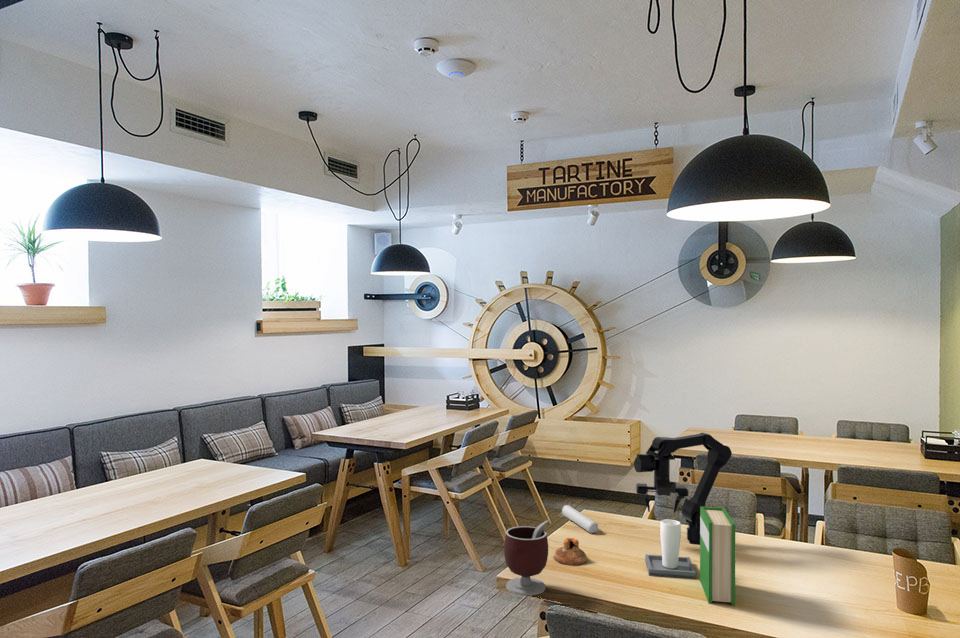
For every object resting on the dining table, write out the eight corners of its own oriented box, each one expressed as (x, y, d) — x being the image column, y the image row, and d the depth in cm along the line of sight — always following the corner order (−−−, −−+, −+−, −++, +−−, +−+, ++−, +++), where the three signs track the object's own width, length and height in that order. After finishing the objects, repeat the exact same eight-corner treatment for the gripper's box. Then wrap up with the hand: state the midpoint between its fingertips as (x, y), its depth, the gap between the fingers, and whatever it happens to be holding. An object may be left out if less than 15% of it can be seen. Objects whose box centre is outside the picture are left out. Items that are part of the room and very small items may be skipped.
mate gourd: (518, 600, 189) (518, 533, 189) (495, 583, 201) (496, 520, 202) (560, 590, 196) (561, 525, 196) (536, 574, 208) (537, 514, 209)
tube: (602, 524, 251) (574, 506, 275) (591, 520, 250) (563, 503, 273) (598, 537, 251) (570, 518, 274) (587, 534, 249) (559, 515, 273)
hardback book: (735, 606, 186) (735, 524, 187) (708, 603, 188) (709, 522, 188) (723, 582, 204) (724, 507, 204) (699, 580, 205) (700, 506, 205)
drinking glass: (675, 562, 218) (675, 518, 219) (684, 569, 212) (684, 524, 212) (656, 563, 217) (656, 519, 218) (665, 570, 211) (665, 525, 211)
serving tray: (689, 563, 220) (689, 557, 220) (696, 578, 206) (696, 572, 206) (645, 560, 223) (645, 554, 223) (648, 575, 209) (648, 569, 209)
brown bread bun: (585, 554, 228) (585, 534, 228) (588, 566, 216) (588, 545, 216) (552, 553, 229) (553, 532, 230) (553, 565, 217) (553, 544, 218)
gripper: (638, 474, 233) (637, 517, 233) (690, 477, 230) (690, 520, 230) (635, 468, 244) (635, 508, 244) (686, 470, 241) (685, 511, 241)
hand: (661, 512), depth 239 cm, fingers open, 9 cm apart
